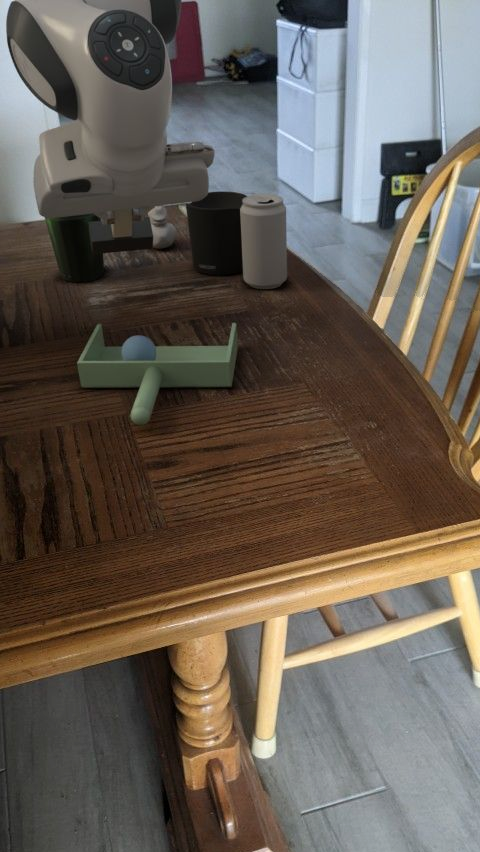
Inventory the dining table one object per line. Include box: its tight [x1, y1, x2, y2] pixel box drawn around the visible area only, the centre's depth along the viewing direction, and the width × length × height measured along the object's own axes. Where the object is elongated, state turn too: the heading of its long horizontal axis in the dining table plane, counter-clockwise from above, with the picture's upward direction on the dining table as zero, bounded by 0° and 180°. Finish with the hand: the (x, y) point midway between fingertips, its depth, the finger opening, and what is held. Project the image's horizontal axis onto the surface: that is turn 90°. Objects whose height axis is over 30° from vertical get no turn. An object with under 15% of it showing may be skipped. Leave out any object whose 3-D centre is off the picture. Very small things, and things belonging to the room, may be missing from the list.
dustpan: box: [76, 322, 239, 426], centre depth 87 cm, size 20×17×3 cm
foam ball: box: [121, 334, 156, 361], centre depth 90 cm, size 4×4×4 cm
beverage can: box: [240, 193, 288, 290], centre depth 111 cm, size 6×6×12 cm
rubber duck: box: [147, 205, 177, 250], centre depth 127 cm, size 5×7×8 cm
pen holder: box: [185, 190, 248, 277], centre depth 117 cm, size 9×9×10 cm
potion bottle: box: [44, 213, 105, 283], centre depth 113 cm, size 8×8×18 cm
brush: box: [88, 209, 154, 254], centre depth 99 cm, size 8×3×13 cm
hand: (122, 217), depth 98 cm, fingers closed on brush, 2 cm apart
